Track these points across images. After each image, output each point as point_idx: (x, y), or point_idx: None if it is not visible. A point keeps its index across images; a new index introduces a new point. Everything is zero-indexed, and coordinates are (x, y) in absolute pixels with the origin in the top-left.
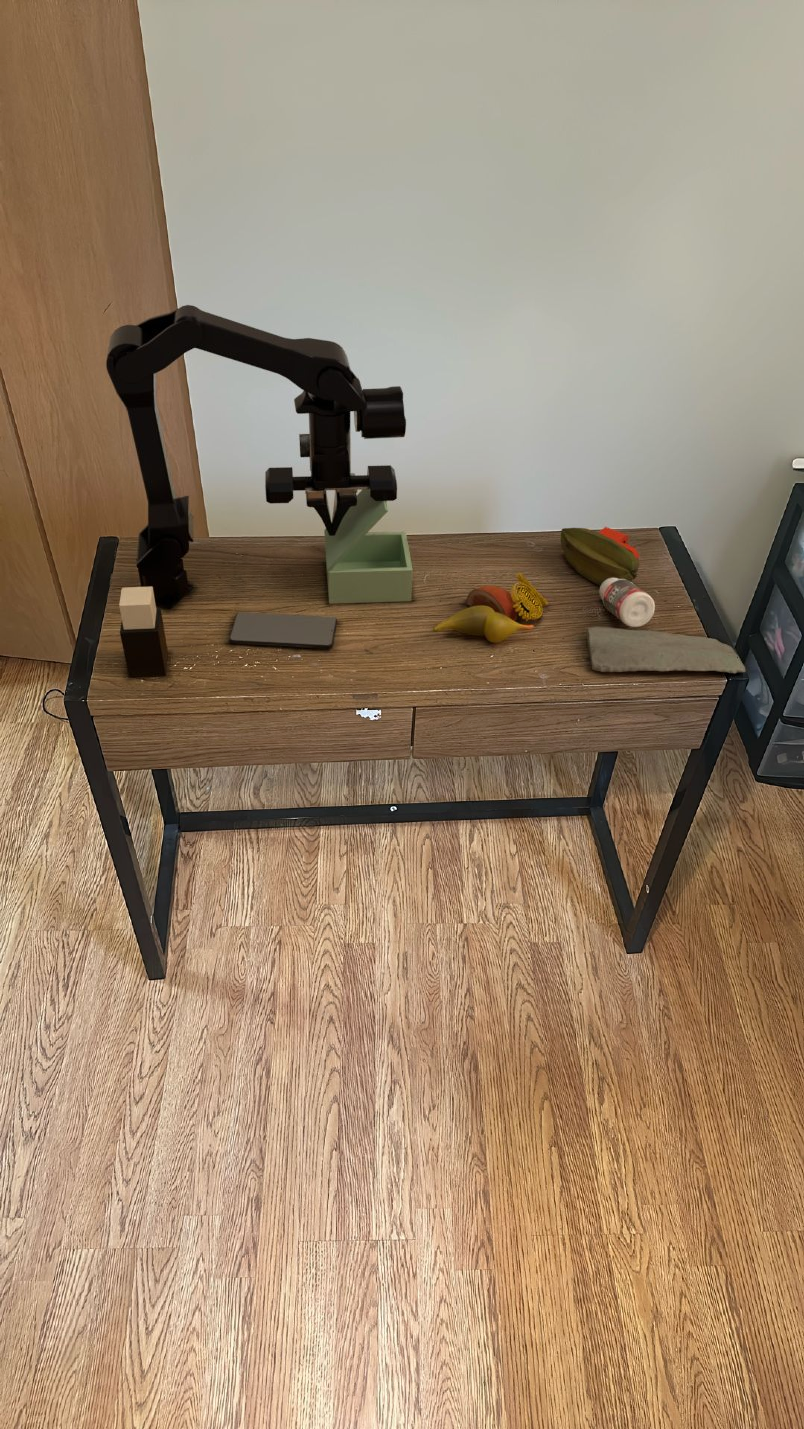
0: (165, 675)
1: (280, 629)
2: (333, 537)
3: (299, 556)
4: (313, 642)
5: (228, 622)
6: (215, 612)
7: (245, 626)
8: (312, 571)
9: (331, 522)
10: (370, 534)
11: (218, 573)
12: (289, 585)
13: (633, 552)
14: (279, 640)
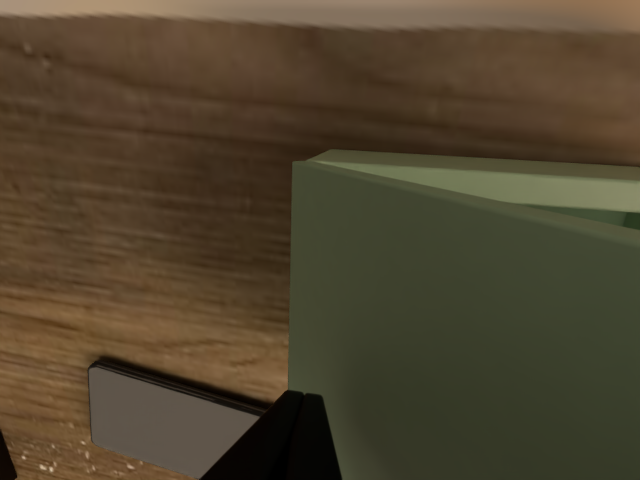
0: (15, 478)
1: (192, 444)
2: (323, 349)
3: (236, 85)
4: None
5: (84, 368)
6: (47, 330)
7: (115, 417)
8: (279, 187)
9: (286, 450)
10: (574, 205)
11: (6, 165)
12: (210, 252)
13: None
14: (193, 472)
